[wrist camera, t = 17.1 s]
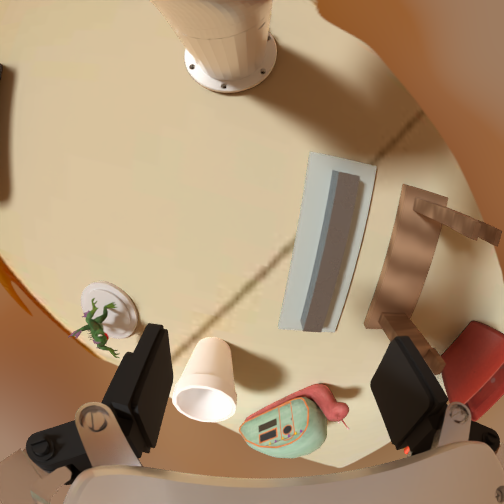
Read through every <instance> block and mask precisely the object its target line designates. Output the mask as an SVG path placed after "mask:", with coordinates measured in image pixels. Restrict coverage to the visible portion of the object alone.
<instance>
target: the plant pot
mask: <svg viewBox="0 0 504 504" xmlns="http://www.w3.org/2000/svg"><path fill="white" fill-rule="evenodd" d="M441 358H442V359H443V360H444V362H445V363H446V365H445V367H444V368H443V370H442V372H441V373H442V378H443V382H444V386H445V389H446V392H447V396H448V399H449V402H450V403H452V402H461V403H463V404H465V405H466V406H467V407H468V409H469V410H470V412H471V420H472V421H474V422H475V421H477V420H478V419H479V418H480V417H481V416H482V415H483V414H484V413H486V412H487V411H488V410H489V409H490V408H491V407H492V406H493V405H494V404H495V403H496V402H497V401H498V400H499V399H500V398H501V397H502V396H503V394H504V334H503V333H501V332H500V331H498V330H496V329H494V328H492V327H490V326H487V325H485V324H482V323H480V322H477V321H472V322H470V324H469V325H468V326H467V327H466V328H465V330H464V331H463V332H462V333H461V334H460V336H459V337H458V338H457V339H456V340H455V341H454V342H453V344H452V345H451V346H450V347H449V348H448V349H447V350H446V351H445V352H444V353H443V354H442V355H441Z"/></svg>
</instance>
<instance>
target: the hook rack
mask: <svg viewBox="0 0 504 504" xmlns="http://www.w3.org/2000/svg"><path fill="white" fill-rule="evenodd" d="M447 201H448V198H447V197H444V196H441V195H438V194H435V193H432V192H429V191H426V190H422V189H419V188H416V187H412V186H409V185H405V184H403V185H402V191H401V196H400V201H399V206H398V210H397V215H396V219H395V223H394V227H393V232H392V235H391V239H390V243H389V247H388V251H387V254H386V258H385V261H384V265H383V268H382V271H381V274H380V278H379V281H378V284H377V287H376V290H375V293H374V296H373V299H372V302H371V305H370V307H369V310H368V313H367V316H366V318H365V321H364V326H365V327H366V329H383V330H384V332H385V334H386V335H387V337H388V338H389V340H390V341H392V340H393V339H394V338H395V337H396V336H409V337H410V339H411V340H412V342H413V343H414V345H415V346H416V348H417V349H418V351H419V352H420V354H421V355H422V357H423V358H424V360H425V361H426V363H427V364H428V366H429V367H430V369H431V370H432V372H433V373H434V375H437V374H440V373H441V372H442V370H443V368H444V367H445V365H446V363H445V362H444V360H443V359H442V358H441V356H440V355H439V353H438V352H437V351H436V349H435V348H432V347H431V346H430V345H429V343H428V342H427V341H426V339H425V338H424V337H423V335H422V334H421V333H420V331H419V330H418V329H417V328H416V326H415V325H414V324H413V323H412V321H411V320H410V318H411V316H412V313H413V311H414V308H415V306H416V303H417V301H418V298H419V296H420V293H421V290H422V288H423V285H424V282H425V279H426V277H427V274H428V271H429V268H430V265H431V262H432V258H433V255H434V252H435V249H436V245H437V242H438V238H439V234H440V231H441V227H442V224H444V225H446V226H448V227H450V228H451V229H453V230H455V231H457V232H459V233H461V234H463V235H465V236H466V237H468V238H470V239H473V240H477V239H478V237H479V238H481V239H483V240H485V241H487V242H489V243H490V244H492V245H495V246H498V244H499V240H500V237H501V233H502V231H501V230H499V229H497V228H495V227H492V226H490V225H488V224H486V223H484V222H481V221H479V220H476V219H474V218H472V217H470V216H467V215H465V214H462V213H460V212H457V211H455V210H452V209H450V208H447V207H446V205H447Z"/></svg>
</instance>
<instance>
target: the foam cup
mask: <svg viewBox="0 0 504 504" xmlns="http://www.w3.org/2000/svg"><path fill="white" fill-rule="evenodd" d="M236 403H237V394H236V392H235V384H234V375H233V366H232V356H231V350H230V347H229V345H228V344H227V343H226V342H225V341H224V340H222V339H219V338H216V337H206V338H204V339H201V340H200V341H199V342H198V343H197V345H196V347H195V349H194V351H193V353H192V355H191V357H190V359H189V361H188V363H187V365H186V367H185V369H184V371H183V373H182V375H181V377H180V379H179V381H178V382H177V383H176V385H175V388H174V392H173V404H174V406H175V407H176V408H177V410H178V411H179V412H181V413H182V414H184V415H185V416H187V417H189V418H192V419H195V420H199V421H202V422H218V421H223V420H227V419H228V418H229V417H231V416H232V415H234V413H235V409H236Z"/></svg>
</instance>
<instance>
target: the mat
mask: <svg viewBox="0 0 504 504" xmlns="http://www.w3.org/2000/svg"><path fill="white" fill-rule="evenodd" d="M376 168H377V166H373V165H369V164H365V163H361V162H357V161H353V160H349V159H344V158H340V157H335V156H330V155H325V154H320V153H315V152H309V159H308V166H307V173H306V179H305V185H304V192H303V198H302V204H301V210H300V216H299V221H298V227H297V233H296V238H295V244H294V249H293V255H292V260H291V265H290V270H289V275H288V280H287V285H286V290H285V295H284V300H283V305H282V310H281V314H280V319H279V324H278V329H287V330H301V331H303V329H302V325H301V321H300V319H301V316H302V312H303V308H304V304H305V300H306V296H307V292H308V288H309V284H310V280H311V275H312V271H313V267H314V262H315V258H316V253H317V249H318V244H319V239H320V235H321V230H322V225H323V220H324V215H325V210H326V204H327V199H328V193H329V188H330V182H331V176H332V170H335V171H340V172H344V173H349V174H353V175H357V176H360V180H359V186H358V191H357V196H356V201H355V206H354V211H353V216H352V221H351V225H350V230H349V234H348V238H347V243H346V247H345V251H344V255H343V259H342V263H341V267H340V270H339V274H338V278H337V282H336V285H335V289H334V292H333V296H332V299H331V303H330V306H329V309H328V312H327V316H326V319H325V322H324V325H323V328H322V331H321V332H335V330H336V327H337V324H338V321H339V318H340V315H341V312H342V309H343V306H344V303H345V299H346V296H347V293H348V289H349V286H350V283H351V279H352V276H353V272H354V268H355V265H356V261H357V257H358V253H359V250H360V246H361V242H362V237H363V233H364V229H365V225H366V220H367V215H368V211H369V206H370V201H371V196H372V191H373V185H374V180H375V174H376Z"/></svg>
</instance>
